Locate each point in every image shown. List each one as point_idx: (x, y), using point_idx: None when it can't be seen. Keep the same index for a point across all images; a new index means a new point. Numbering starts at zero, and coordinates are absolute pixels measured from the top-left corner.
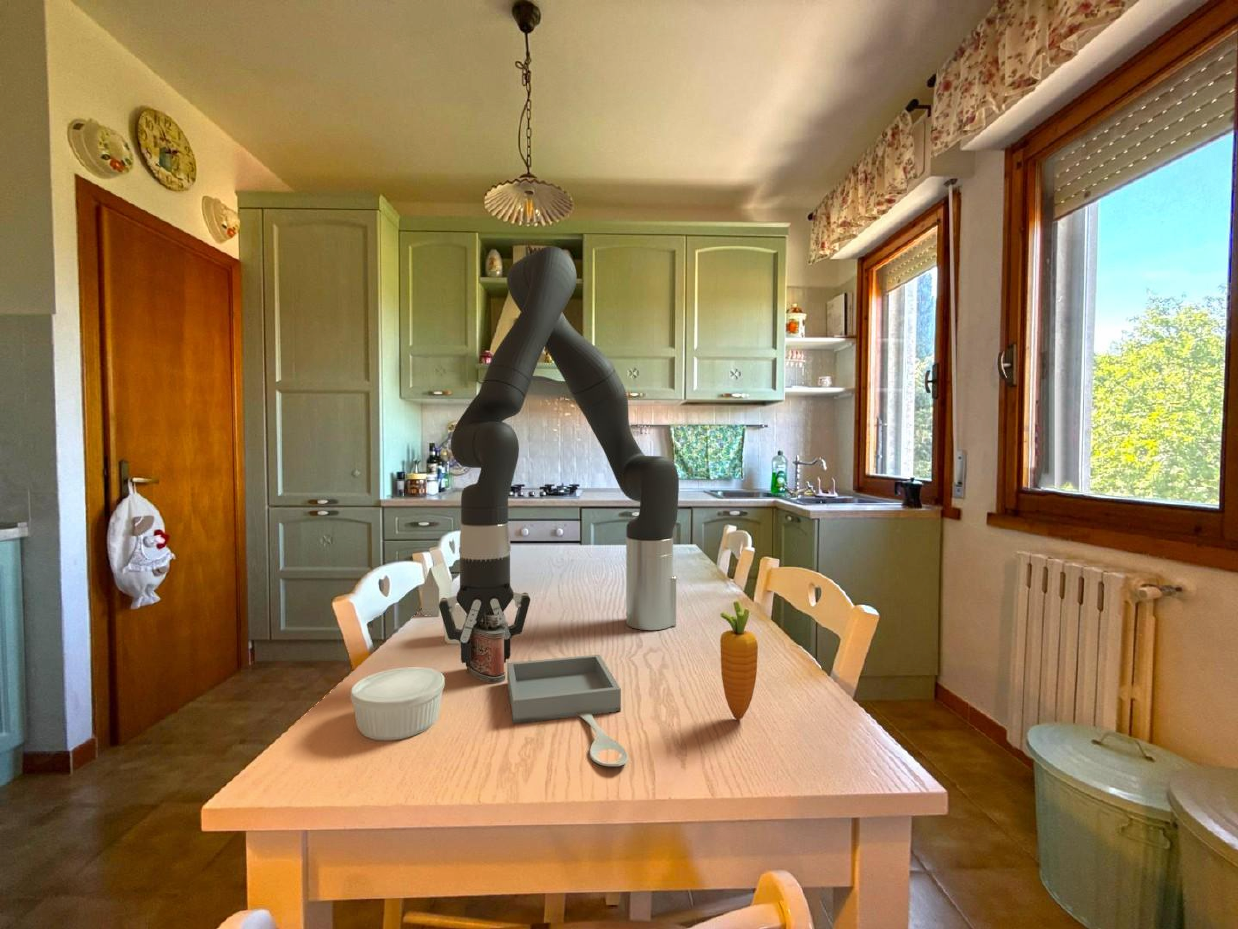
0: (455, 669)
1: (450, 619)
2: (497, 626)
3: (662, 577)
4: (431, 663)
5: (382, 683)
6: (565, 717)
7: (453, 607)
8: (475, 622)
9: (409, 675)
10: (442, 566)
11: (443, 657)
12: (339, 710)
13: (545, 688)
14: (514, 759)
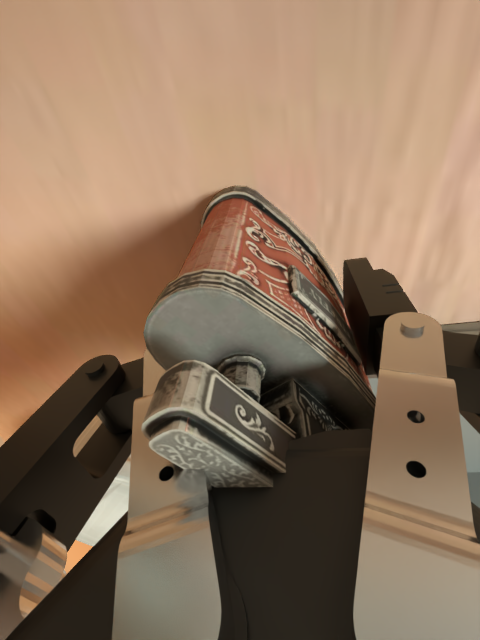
0: (155, 205)
1: (85, 511)
2: (363, 417)
3: None
4: (20, 122)
5: (90, 520)
6: None
7: (49, 586)
8: (203, 336)
9: (124, 507)
10: None
11: (26, 22)
12: (8, 401)
13: None
14: None
